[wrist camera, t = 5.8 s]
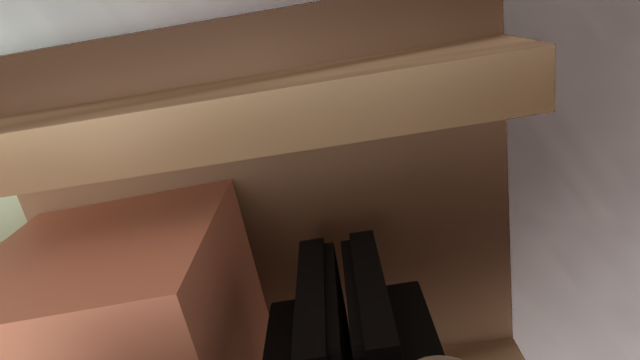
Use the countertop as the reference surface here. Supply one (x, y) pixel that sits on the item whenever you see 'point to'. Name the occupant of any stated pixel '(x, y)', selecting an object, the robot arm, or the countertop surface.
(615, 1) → the countertop surface
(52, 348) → the block
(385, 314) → the robot arm
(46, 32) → the countertop surface
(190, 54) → the brown rectangular tray
